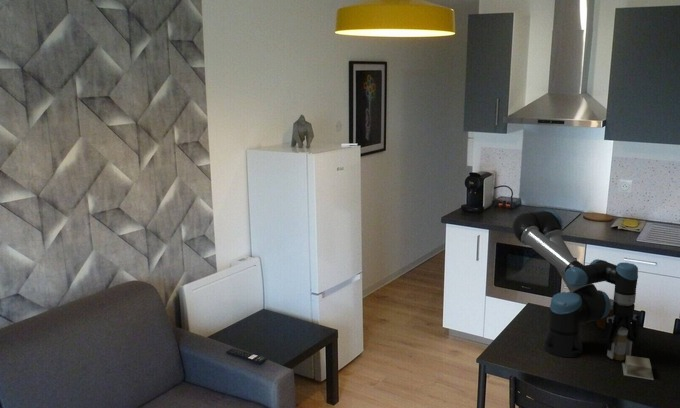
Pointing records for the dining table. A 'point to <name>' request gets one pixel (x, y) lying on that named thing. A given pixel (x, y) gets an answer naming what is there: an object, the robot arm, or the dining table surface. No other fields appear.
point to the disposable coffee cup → (602, 321)
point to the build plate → (633, 375)
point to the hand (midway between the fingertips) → (618, 356)
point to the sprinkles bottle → (620, 344)
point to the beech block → (638, 366)
